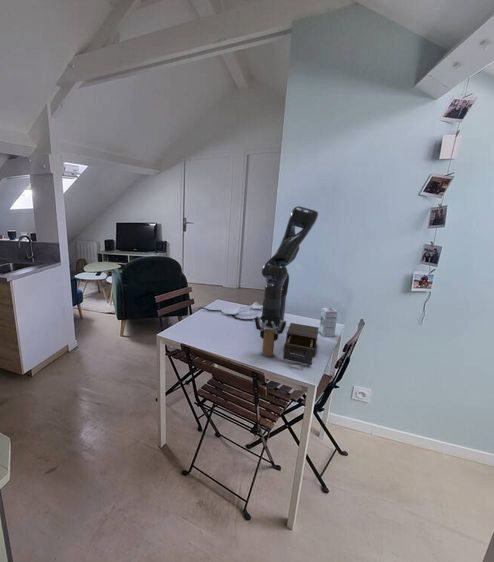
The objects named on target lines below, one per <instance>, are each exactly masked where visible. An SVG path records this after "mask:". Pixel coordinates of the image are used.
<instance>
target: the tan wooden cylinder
mask: <svg viewBox="0 0 494 562" xmlns="http://www.w3.org/2000/svg"><path fill="white" fill-rule="evenodd" d="M274 336H275V331H274V329H273V328H264V333H263V339H262V346H261V347H262V349H261V353H262V355H264V356H268V357H272V356H274V352H275V351H274V350H275V341H274Z"/></svg>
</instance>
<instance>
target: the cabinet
mask: <svg viewBox="0 0 494 562" xmlns="http://www.w3.org/2000/svg"><path fill="white" fill-rule="evenodd" d="M319 329H320V326H319V327H318V326H313V325H312V326H311V325H306V324H300V323H294V322H290V324H289V326H288V329H287V330H286V331H287V332H286V337H285V343H287V341H288V339H289V336H290V335H293V336H298V337H304V338H309V339H314V340H313V348H314V349H313V357H315V355H316V350H317V344H318V336H319Z"/></svg>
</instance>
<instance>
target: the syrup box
mask: <svg viewBox="0 0 494 562" xmlns="http://www.w3.org/2000/svg"><path fill="white" fill-rule="evenodd" d="M320 312H321V313H320V321H319V329H318V333H320V334H321V335H322V336H323V337H335V334H336V325H337V319H338V311H337V310H336V309H335V308H333V307H321V311H320Z"/></svg>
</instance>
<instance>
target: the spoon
mask: <svg viewBox="0 0 494 562" xmlns="http://www.w3.org/2000/svg"><path fill="white" fill-rule="evenodd" d="M246 308H249V309H253V310H260V309H263V304H260V303H259V302H258V301H255V302H253V304H251V305H242V306H240V307H236V308H226V309H221V310H222V313H223V314H225V315H230V316H232V314H233V315H237V314H238V313H239V312H240V310H242V309H246Z"/></svg>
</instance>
